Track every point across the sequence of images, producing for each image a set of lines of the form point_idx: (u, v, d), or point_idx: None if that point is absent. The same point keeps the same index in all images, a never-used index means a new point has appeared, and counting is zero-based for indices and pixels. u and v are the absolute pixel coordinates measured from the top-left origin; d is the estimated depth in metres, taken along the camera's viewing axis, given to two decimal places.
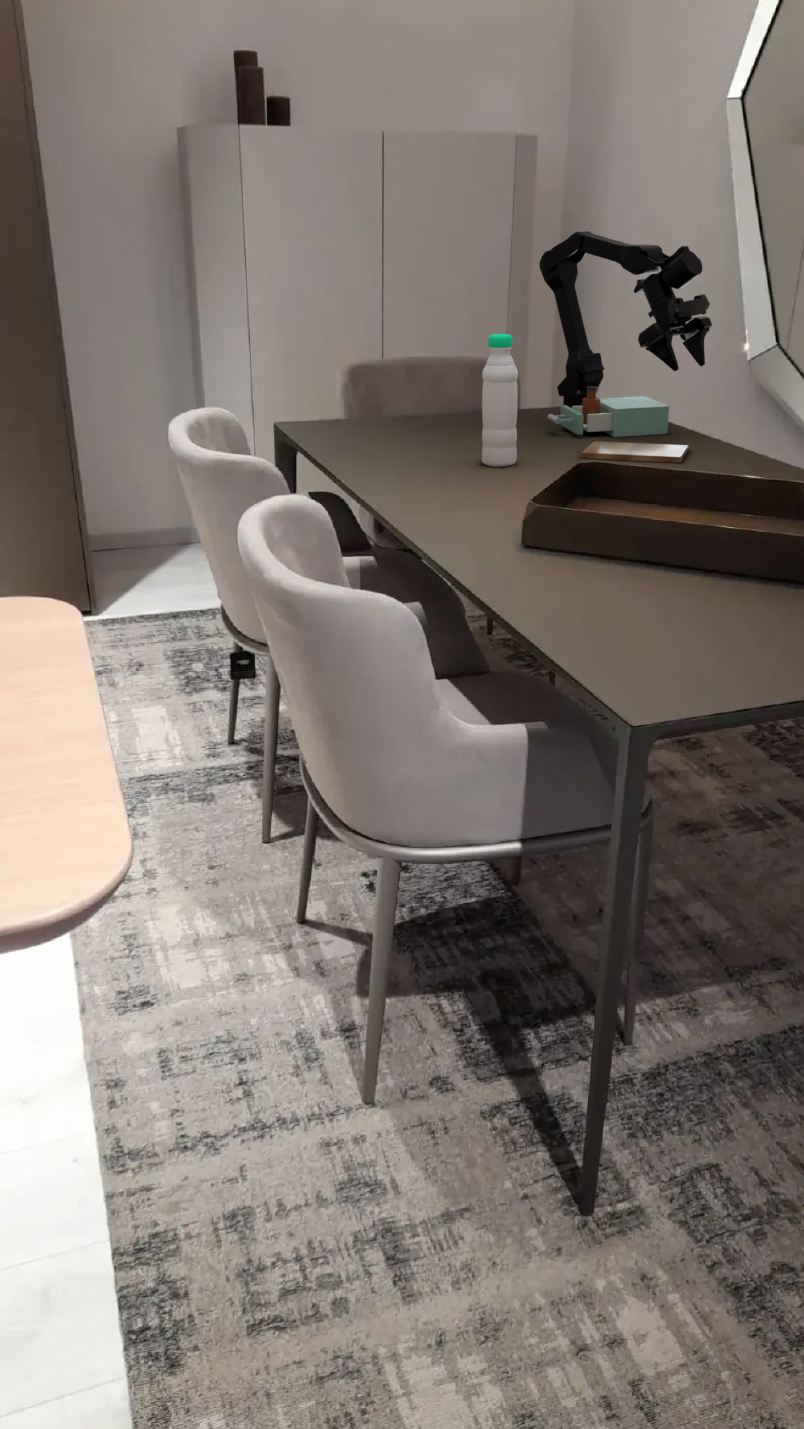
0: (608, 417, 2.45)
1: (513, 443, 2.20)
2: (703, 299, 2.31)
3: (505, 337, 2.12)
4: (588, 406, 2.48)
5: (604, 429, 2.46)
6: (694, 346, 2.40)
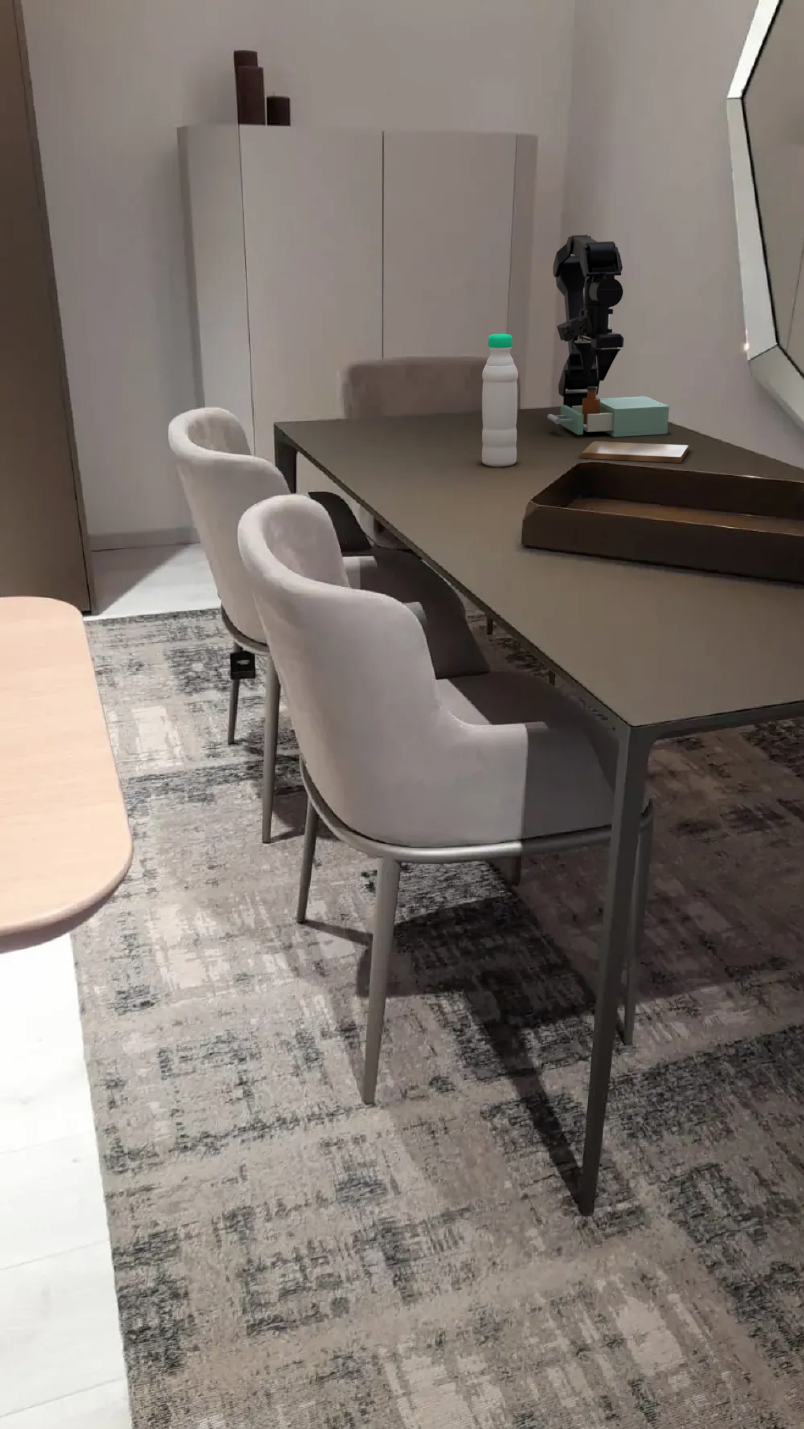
0: (608, 417, 2.45)
1: (513, 443, 2.20)
2: (561, 328, 2.40)
3: (505, 337, 2.12)
4: (588, 406, 2.48)
5: (604, 429, 2.46)
6: None
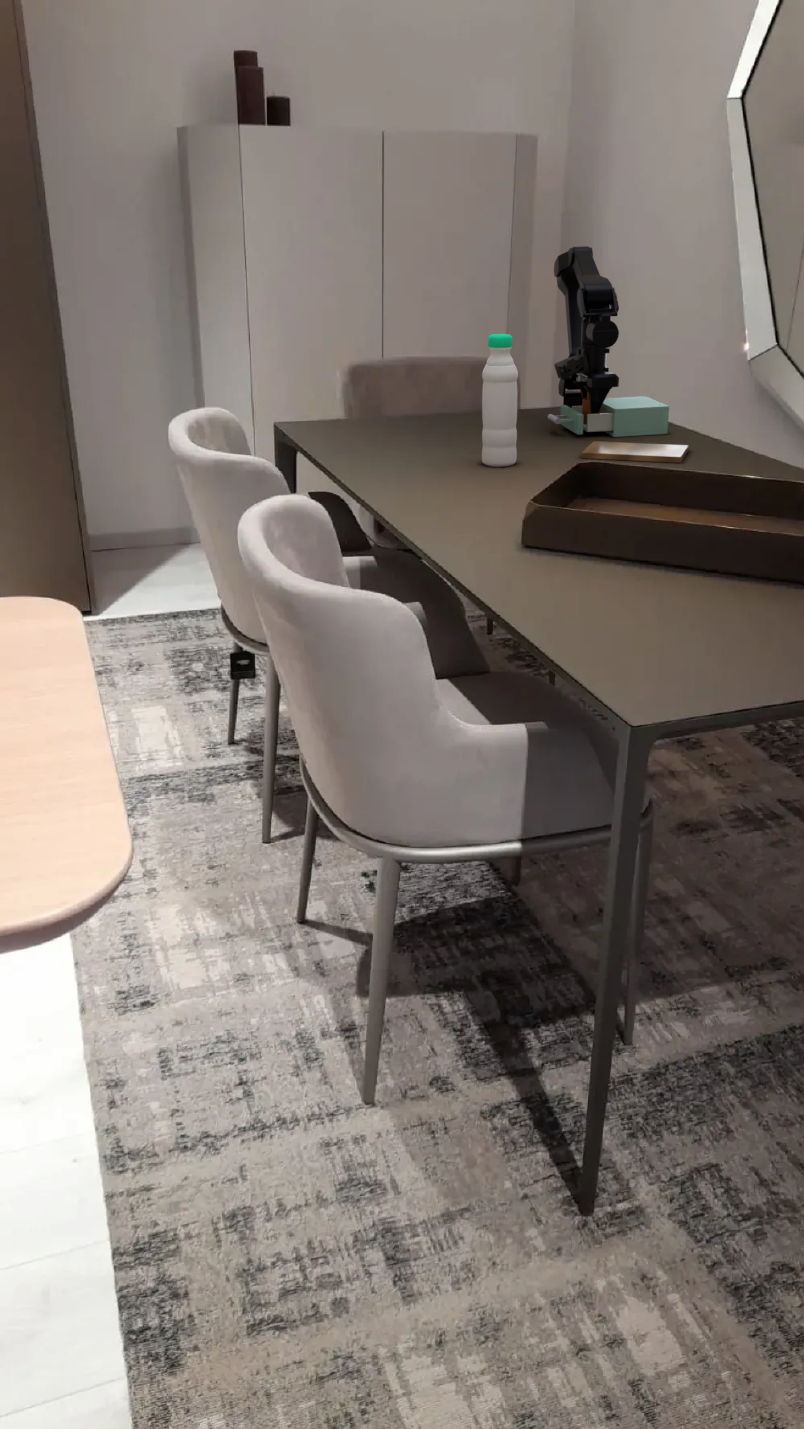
0: (608, 417, 2.45)
1: (513, 443, 2.20)
2: (558, 367, 2.43)
3: (505, 337, 2.12)
4: (588, 406, 2.48)
5: (604, 429, 2.46)
6: None
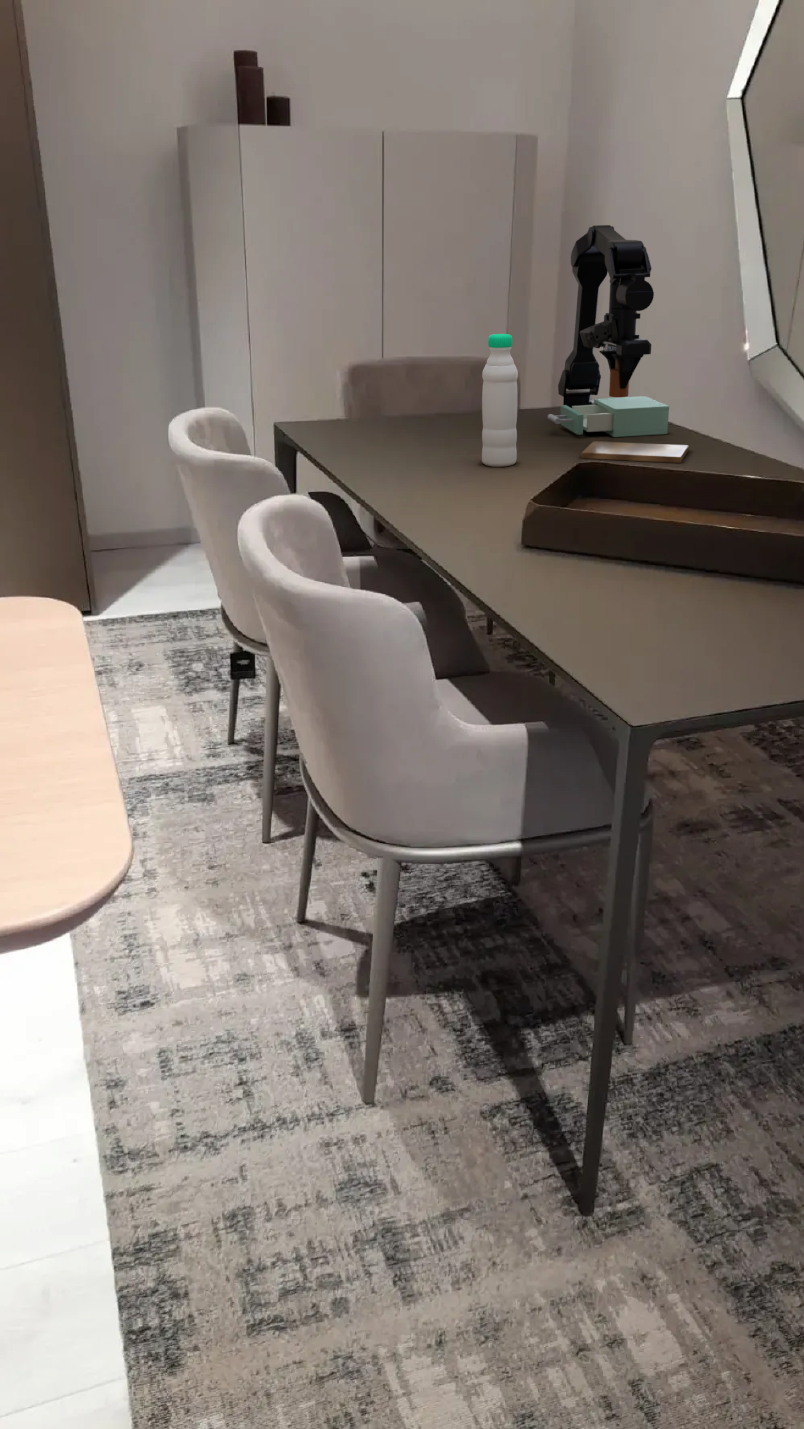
0: (608, 417, 2.45)
1: (513, 443, 2.20)
2: (584, 334, 2.24)
3: (505, 337, 2.12)
4: (617, 377, 2.28)
5: (604, 429, 2.46)
6: None
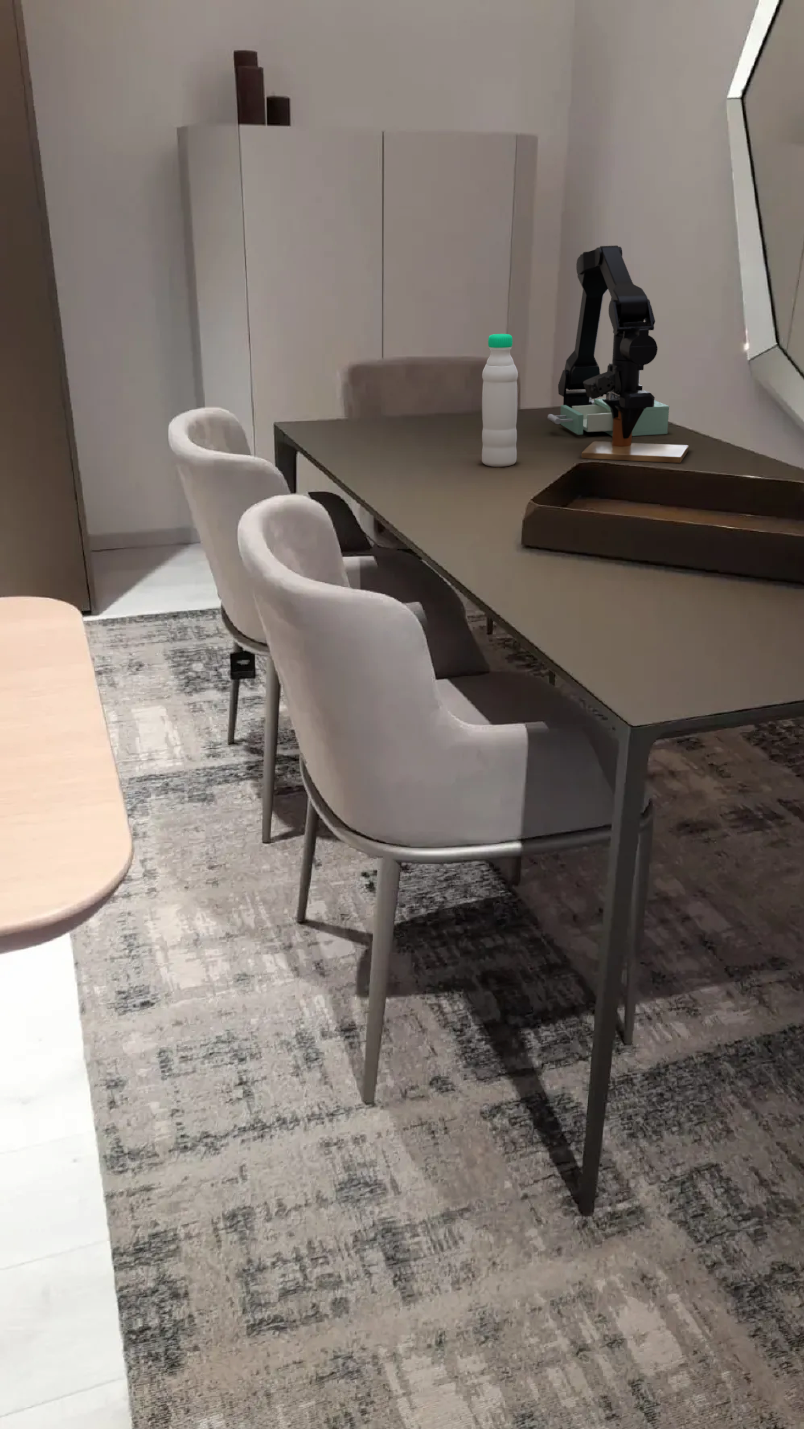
0: (608, 417, 2.45)
1: (513, 443, 2.20)
2: (587, 385, 2.24)
3: (505, 337, 2.12)
4: (620, 426, 2.29)
5: (604, 429, 2.46)
6: None
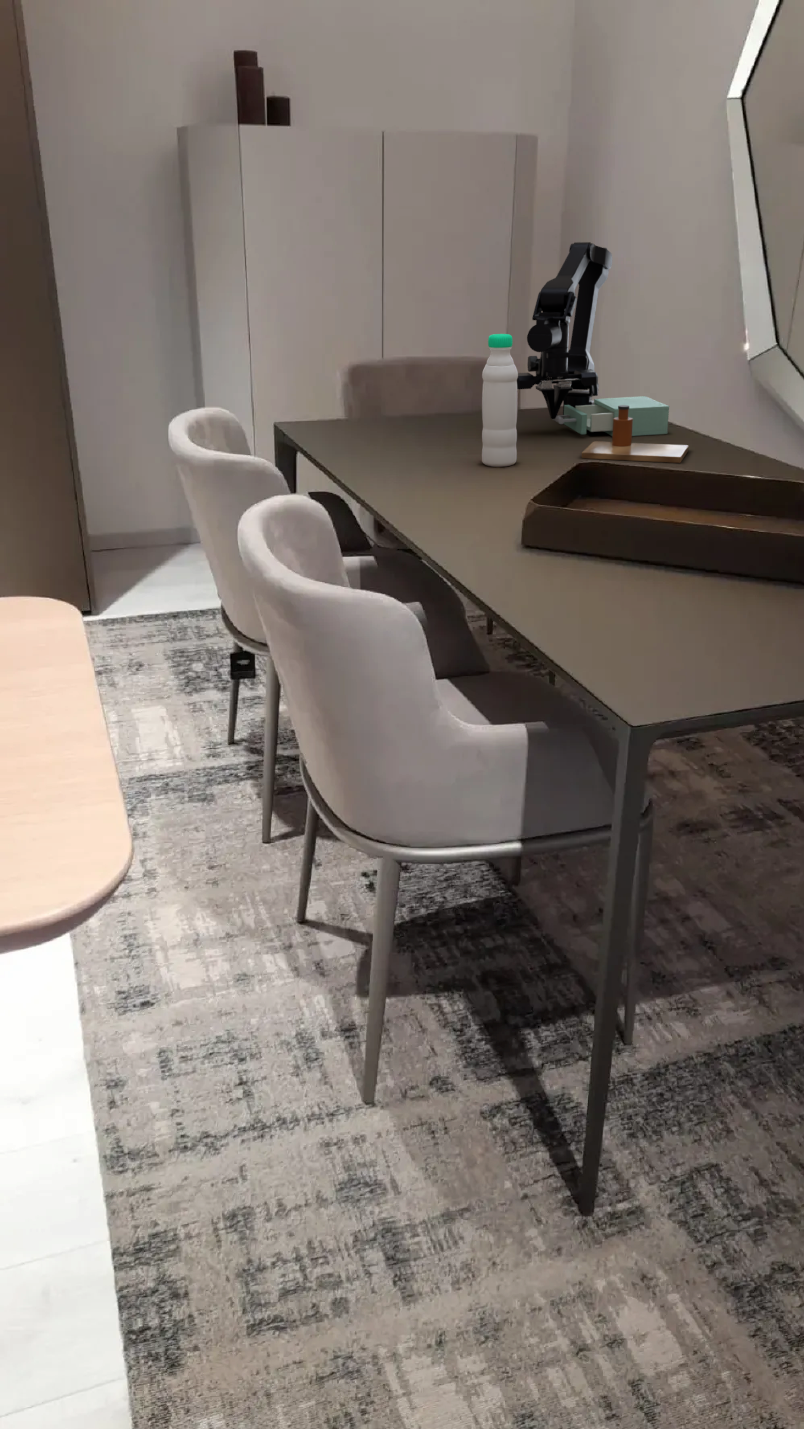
0: (612, 416, 2.45)
1: (513, 443, 2.20)
2: None
3: (505, 337, 2.12)
4: (620, 426, 2.29)
5: (608, 428, 2.46)
6: None
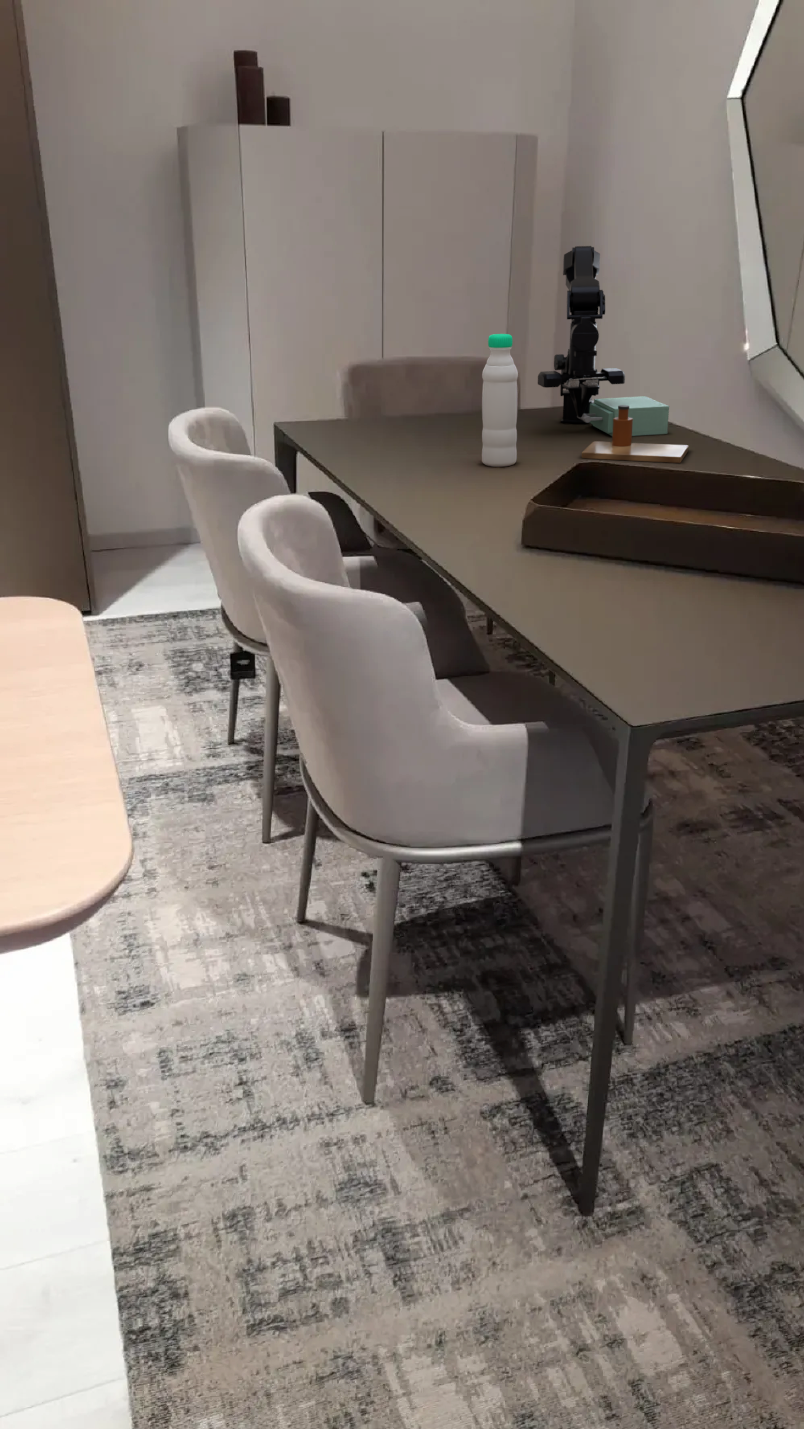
0: None
1: (513, 443, 2.20)
2: None
3: (505, 337, 2.12)
4: (620, 426, 2.29)
5: None
6: None
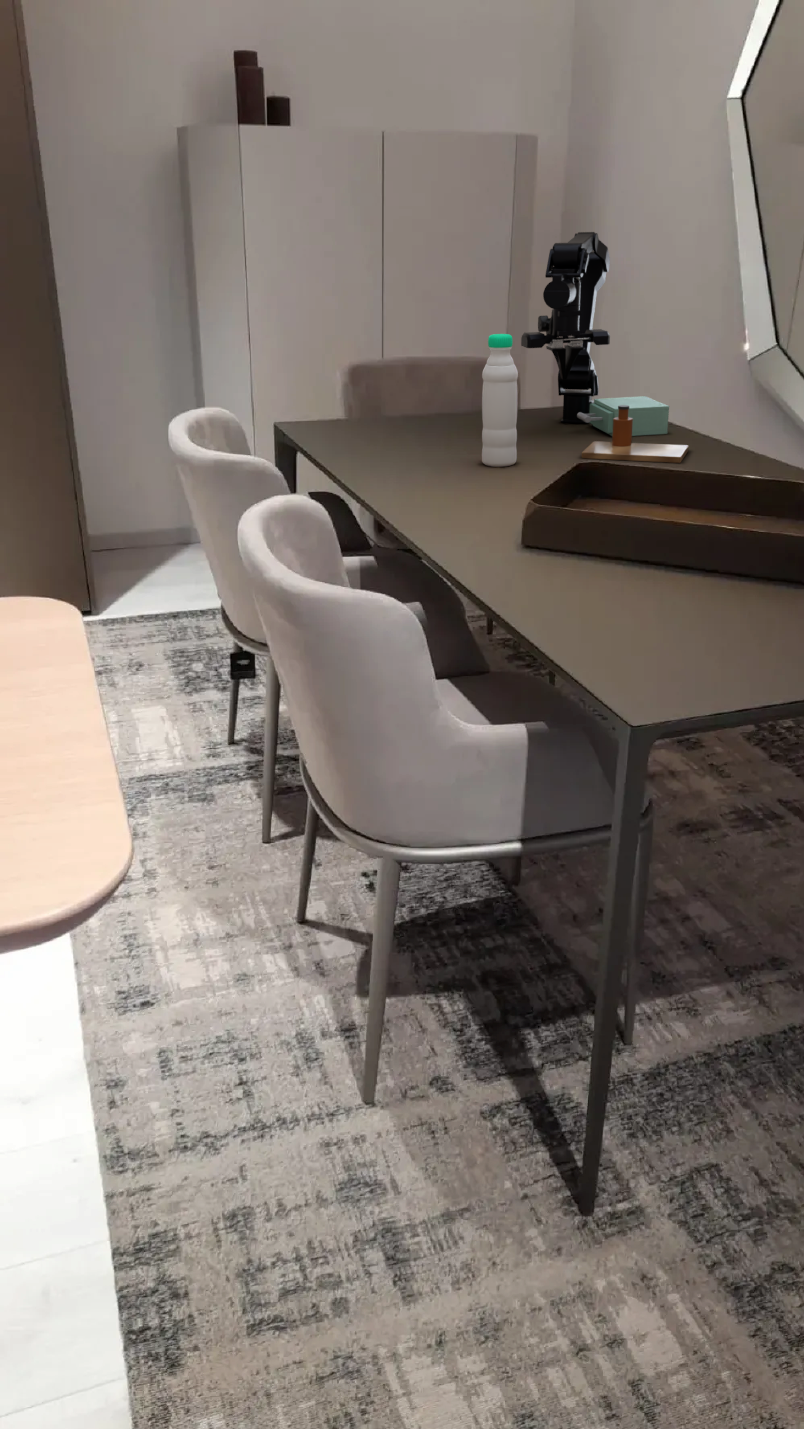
0: None
1: (513, 443, 2.20)
2: None
3: (505, 337, 2.12)
4: (620, 426, 2.29)
5: None
6: None
